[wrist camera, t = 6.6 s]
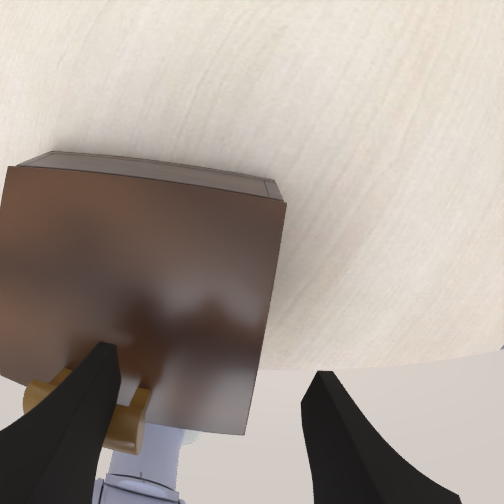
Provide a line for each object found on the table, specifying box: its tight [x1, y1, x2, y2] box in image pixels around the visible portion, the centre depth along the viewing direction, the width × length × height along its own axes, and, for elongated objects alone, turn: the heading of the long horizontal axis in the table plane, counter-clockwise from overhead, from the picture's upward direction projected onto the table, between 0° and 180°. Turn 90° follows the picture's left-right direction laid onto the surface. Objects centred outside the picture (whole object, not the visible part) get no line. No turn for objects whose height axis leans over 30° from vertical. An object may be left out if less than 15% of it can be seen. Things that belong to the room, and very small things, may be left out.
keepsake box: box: [16, 151, 284, 202], centre depth 17 cm, size 11×14×4 cm
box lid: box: [0, 166, 287, 455], centre depth 11 cm, size 12×14×5 cm
